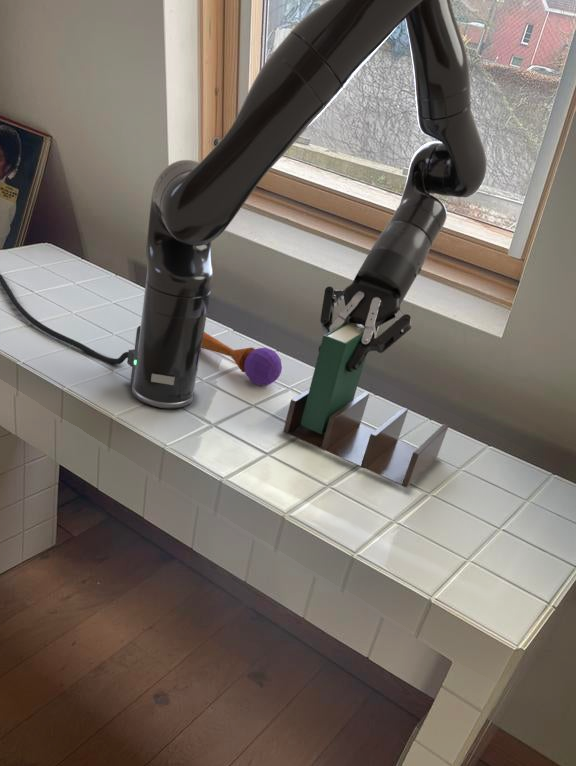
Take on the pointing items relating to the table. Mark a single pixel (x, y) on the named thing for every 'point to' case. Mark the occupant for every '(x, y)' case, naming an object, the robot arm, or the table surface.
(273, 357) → the kendama
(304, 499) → the table surface
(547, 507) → the table surface
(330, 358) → the book
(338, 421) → the rack
